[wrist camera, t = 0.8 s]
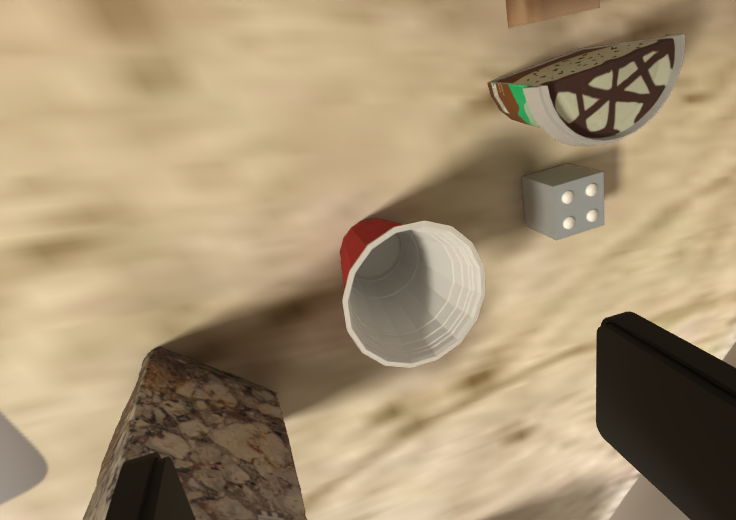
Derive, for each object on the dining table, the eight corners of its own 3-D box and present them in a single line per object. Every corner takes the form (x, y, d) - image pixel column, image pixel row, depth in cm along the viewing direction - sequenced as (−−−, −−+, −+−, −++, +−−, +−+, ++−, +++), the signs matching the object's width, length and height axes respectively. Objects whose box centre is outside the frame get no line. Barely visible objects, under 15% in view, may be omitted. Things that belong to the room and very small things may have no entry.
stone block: (290, 381, 46) (329, 570, 28) (258, 439, 48) (276, 657, 29) (151, 336, 41) (89, 531, 23) (119, 402, 43) (37, 637, 24)
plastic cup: (449, 246, 46) (517, 296, 35) (366, 323, 46) (408, 395, 36) (379, 162, 42) (432, 189, 31) (288, 247, 42) (308, 304, 31)
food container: (486, 156, 44) (553, 174, 35) (471, 88, 42) (539, 88, 33) (601, 111, 46) (694, 117, 37) (594, 43, 43) (691, 31, 34)
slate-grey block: (520, 176, 46) (554, 187, 41) (566, 163, 47) (604, 172, 42) (525, 225, 48) (557, 240, 43) (569, 211, 49) (605, 225, 44)
